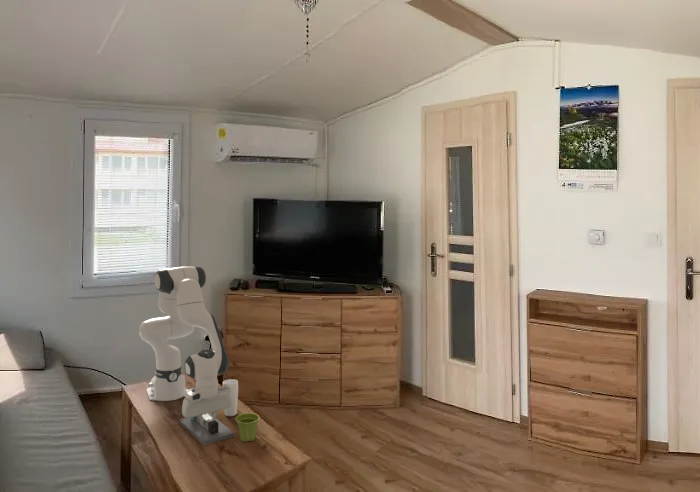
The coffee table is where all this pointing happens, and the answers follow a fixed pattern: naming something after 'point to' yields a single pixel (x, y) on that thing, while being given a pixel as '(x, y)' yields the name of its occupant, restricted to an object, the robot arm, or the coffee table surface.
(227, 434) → the plate
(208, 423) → the jaw
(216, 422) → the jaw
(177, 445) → the coffee table surface
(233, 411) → the white cup
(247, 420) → the plant pot
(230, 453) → the coffee table surface
